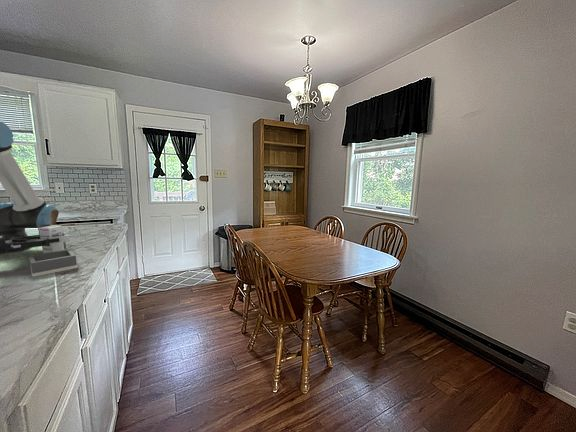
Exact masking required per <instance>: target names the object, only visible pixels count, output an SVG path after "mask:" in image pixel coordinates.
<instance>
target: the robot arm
mask: <svg viewBox="0 0 576 432" xmlns="http://www.w3.org/2000/svg"><path fill="white" fill-rule="evenodd" d="M14 140H15V139H14V133H13V131H12V129H11V128H10V127H9V126H8V124H6V123H5V122H4V121H2V120H0V185H1V186H2V188H3V189H4V191H6V194H7V195H8V197H9V198H10V199H11V201H12V202H6V203H0V256H3V255H4V256H5V255H7V254H8V253H10V252H15V251H23V250H25V249H30V248H38V247H39V248H40V247H42V246H50V244H54V243H61V242H65V243H67V242H70V235H69V234H67V232H65V231H64V236H57V237H49V238H46V239H41V238H40V235H39V234H34V235H28V233H27V232H26V229H38V226H41V225H49V224H50V221H51V211H52V210H58V209H57V208H56V206H54V205H52V204H47V202H46V201H45V199H44V198H43V197H39V196H38V195H37V194H36V192H35V190H34V188H33V186H32V185H31V183H30V182H29V180H28V179H27V177H26V175H25V173H24V172H23V171H22V169H21V167H20V165H19V164H18V162H17V160H16V159H15V157H14V155H13V154H12V152H11V150H12V149H13V145H12V144H13V143H14Z"/></svg>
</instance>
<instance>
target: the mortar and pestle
mask: <svg viewBox="0 0 576 432" xmlns="http://www.w3.org/2000/svg"><path fill="white" fill-rule="evenodd" d="M59 214H60V213H59V210H58V209H57V210H52V211H51V221H50V224H49V225H41V226H38V228H37V229H38V230H37V231H38V235H40V232H39V228H42V227H47V226H53V225H60V226H63V224H61V223H59V224H58V223H57V221H58V217H59Z"/></svg>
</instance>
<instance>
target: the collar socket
mask: <svg viewBox="0 0 576 432" xmlns="http://www.w3.org/2000/svg"><path fill="white" fill-rule="evenodd" d="M28 260H29V269H30V272H31V275H32V278H34V277H38V276H39V277H40V276H44V275H48V274H53V273H58V272H64V271H69V270H73V269H78V268H79V267H78V263H77V256H76V254H75V253H74V251H72V249H70V248H69V249H66V250H62V251H56V252H49V253H43V252H42V253H38V254H33V255H32V254H31V255H28Z"/></svg>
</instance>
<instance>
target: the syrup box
mask: <svg viewBox="0 0 576 432" xmlns="http://www.w3.org/2000/svg"><path fill="white" fill-rule="evenodd" d="M39 232H40V238H41V239H46V238H49V237H57V236H64V232H65V231H64V225H62V226H60V225H53V226H47V227H42V228H39V231H38V233H39ZM41 249H42V254H43V253H49V252H56V251H62V250H67V242H61V243H54V244H50V246H41Z"/></svg>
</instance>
